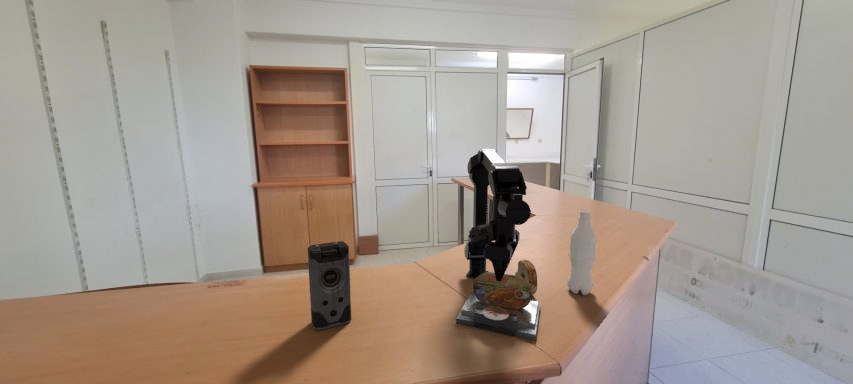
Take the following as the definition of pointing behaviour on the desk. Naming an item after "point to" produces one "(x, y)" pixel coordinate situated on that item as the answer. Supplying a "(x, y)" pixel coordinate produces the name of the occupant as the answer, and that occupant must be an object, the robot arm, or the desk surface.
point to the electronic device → (329, 284)
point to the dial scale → (500, 318)
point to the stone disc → (528, 274)
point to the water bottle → (582, 254)
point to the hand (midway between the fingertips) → (501, 274)
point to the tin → (502, 290)
